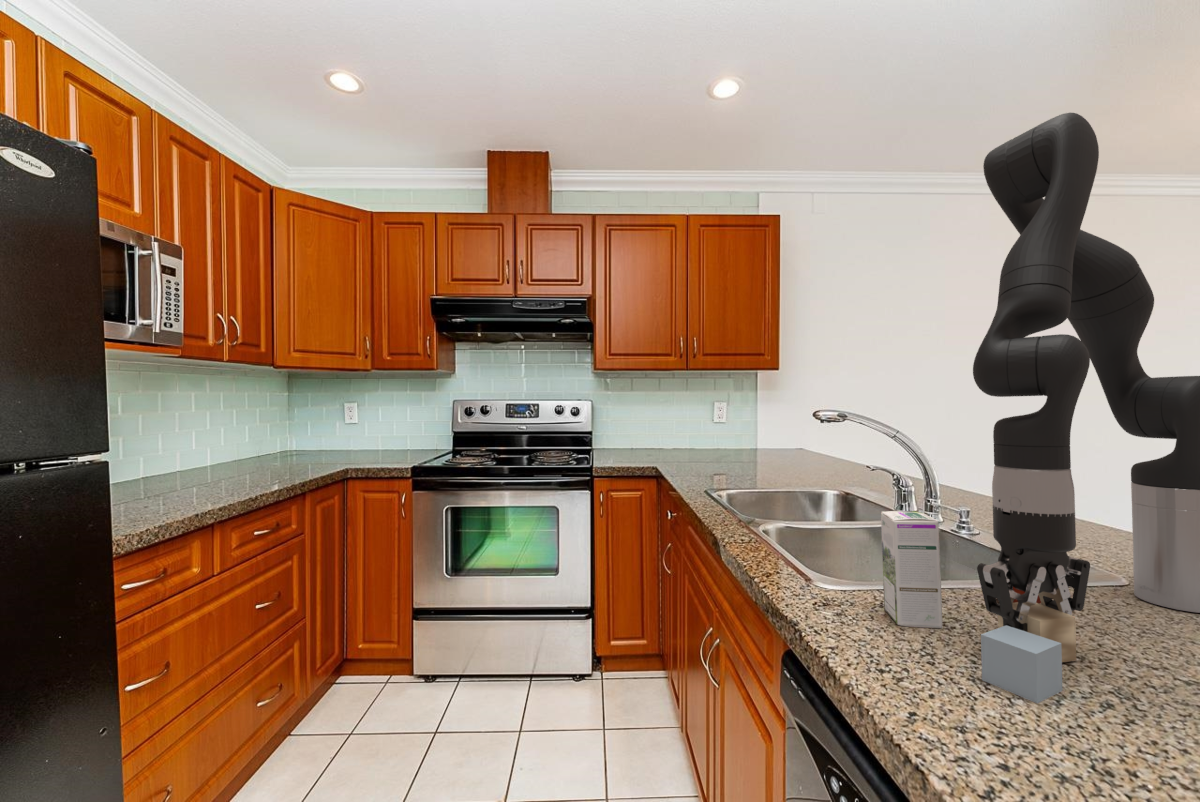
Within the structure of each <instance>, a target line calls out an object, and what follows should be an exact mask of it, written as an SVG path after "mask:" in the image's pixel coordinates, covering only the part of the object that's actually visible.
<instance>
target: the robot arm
mask: <svg viewBox="0 0 1200 802" xmlns="http://www.w3.org/2000/svg"><path fill="white" fill-rule="evenodd" d="M1098 142H1099V141H1098V138H1097V135H1096V132H1095V130H1094V128H1093V126H1092V125H1091V124H1090V123H1089V121H1088V120H1087V119H1086V118H1085V117H1084V116H1082V115H1081V114H1079V113H1077V112H1076V113H1075V112H1065V113H1062V114H1059V115H1057V116H1054V117H1052V118H1050V119H1047V120H1046V121H1044V122H1041V123H1040V124H1038V125H1036V126H1033V127H1032V128H1031V129H1030V128H1029V130H1027V131H1025V132H1023V133H1021V134H1019V135H1017V136H1015V137H1014V138H1012V139H1011V138H1010V139H1009V140H1007V141H1006V142H1004V143H1002V144H1001V145H999V146H997V147H994V148H993V149H992V150H990V151H989V152H987V155H986V156H985V158H984V161H983V175H984V178H985V181H986V185H987V186H988V188H989V191H990V192H991V194H992V196H993V197H994V199H995V201H996V202H997V204H998V206H999V207H1000V208H1001V210H1002V212H1003V213H1004V214H1005V216H1006V217H1007V218H1008V220H1009V221H1010V223H1011V225H1013V227H1014V228H1015V230H1016V231H1017V232H1018V235H1019V237H1018V238H1017V240H1016V241H1015V242H1014V244H1013V245H1012V247H1011V248H1010V250H1009V252H1008V253H1007V255H1006V258H1005V259H1004V262H1003V265H1002V267H1001V271H1000V277H999V284H998V285H999V287H998V297H997V306H996V310H995V313H994V316H993V318H992V321H991V322H990V323H991V324H990V326H989V328H988V330H987V332H986V334H985V336H984V338H983V340H982V341H981V343H980V345H979V347H978V350H977V352H976V354H975V357H974V360H973V364H972V375H973V380H974V383H975V384H976V386H977V387H978V389H979V390H980V391H981V392H982V393H984V394H985V395H988V396H991V397H998V398H999V397H1002V398H1003V397H1004V398H1005V397H1009V398H1010V397H1041V396H1042V397H1043V396H1045V397H1046V401H1045V403H1044V404H1043V406H1042V407H1040V409H1038V410H1037V411H1035V412H1032V413H1031V412H1030V413H1027V414H1023V415H1022V414H1020V415H1014V416H1009V417H1004V418H1001V419H998V420H997V421H996V422H995V423H994V426H993V435H992V437H993V438H992V439H993V465H994V466H993V473H992V474H993V475H992V482H991V483H992V485H991V493H992V494H991V495H992V527H993V528H992V529H993V531H992V532H993V533H992V534H993V539H994V541H996V542H997V543H998V544H999V546H1000V549H1001V550H1000V552H999V553H1000V554H999V555H998V559H997V562H994V563H991V564H986V563H984V562H983V563H982V562H981V563H979V564H977V566H976V570H977V574H978V575H977V576H978V580H979V583H980V587H981V592H982V593H981V594H982V597H983V600H984V605H985V609H986V611H987V612H989V613H991V614H994V615H996V616H998V615H999V616H1002V618H1003V626H1005V625H1007V626H1010V627H1013V628H1016V629H1019V630H1023V631H1026V632H1028V627H1027V623H1025V622H1026V620H1027V617H1028V613H1029V609H1030V606H1031V605H1035V604H1036V601H1037V597H1038V595H1039V597H1040V600H1041V603H1040V604H1042V605H1044V606H1047V607H1050V608H1053V609H1055V610H1058V611H1061V612H1064V613H1066V614H1069V615H1072V614H1073V612H1074V611H1078V612H1081V611H1082V610H1083V609H1084V607H1085V603H1086V595H1087V589H1088V583H1089V582H1088V581H1089V576H1090V570H1091V563H1090V561H1088V560H1084V559H1080V558H1078V557H1074V556H1069V555H1068V553H1069V552H1071V551H1073V550H1074V549H1076V546H1077V539H1076V538H1077V536H1076V535H1077V534H1076V533H1077V532H1076V531H1077V530H1076V504H1075V503H1076V502H1075V501H1076V500H1075V497H1076V495H1075V486H1074V480H1073V477H1072V475H1073V474H1072V469H1071V468H1072V464H1071V463H1072V462H1071V432H1072V431H1071V429H1072V422H1073V419H1074V414H1075V409H1076V406H1077V403H1078V400H1079V397H1080V394H1081V392H1082V389H1083V387H1084V384H1085V382H1086V378H1087V376H1088V373H1089V368H1090V365H1091V364H1090V363H1092V366H1093V368H1094V370H1095V372H1096V375H1097V377H1098V380H1099V383H1100V385H1101V388H1102V390H1103V393H1104V395H1105V398H1106V401H1107V403H1108V406H1109V408H1110V410H1111V412H1112V415H1113V417H1114V419H1115V420H1116V422H1117V423H1118V425H1119V427H1120V428H1121V429H1122V430H1124V432H1125V433H1127V434H1129V435H1131V436H1134V437H1138V438H1146V439H1148V438H1149V439H1165V440H1166V439H1167V440H1175V445H1174V449H1173V450H1172V452H1170V453H1168V454H1166V455H1164V456H1162V457H1159V458H1155V459H1151V460H1146V461H1141V462H1137V463H1135V464H1133V465H1132V467H1131V468H1130V481H1131V482H1130V488H1131V516H1132V517H1131V518H1132V519H1131V520H1132V521H1131V524H1132V562H1133V566H1132V567H1133V569H1132V570H1133V571H1132V572H1133V594H1134V596H1135V597H1136V598H1138V599H1140V600H1142V601H1145V602H1147V603H1151V604H1152V605H1153V604H1154V605H1156V606H1157V605H1158V606H1161V607H1165V608H1169V609H1173V610H1178V611H1184V612H1191V613H1198V614H1200V375H1183V376H1162V377H1160V376H1159V377H1158V376H1157V377H1151V376H1149V375H1148V374H1147V372H1145V370H1144V368H1143V367H1142V364H1141V361H1140V359H1139V355H1138V348H1139V344H1140V341H1141V339H1142V337H1143V335H1144V332H1145V330H1146V328H1147V326H1148V324H1149V321H1150V319H1151V316H1152V313H1153V310H1154V305H1155V296H1154V292H1153V290H1152V288H1151V286H1150V284H1149V282H1148V279H1147V278H1146V276H1145V274H1144V271H1143V270H1142V268H1141V267H1140V264H1139V263H1138V260H1137V259H1136V258H1135V256H1134V255H1133V254H1132V253H1130V252H1129V251H1127V250H1126V249H1124V248H1122V247H1121V246H1119V245H1117V244H1115V243H1113V242H1110V241H1109V240H1106V239H1104V238H1102V237H1099V236H1097V235H1094V234H1092V233H1089V232H1087V231H1085V230H1083V229H1081V227H1082V224H1083V221H1084V217H1085V215H1086V212H1087V208H1088V204H1089V200H1090V196H1091V194H1092V190H1093V185H1094V182H1095V179H1096V175H1097V172H1098V167H1099V166H1098V163H1099V158H1100V150H1099V149H1100V148H1099V143H1098ZM1066 320H1068V322H1069V323H1070V325H1071V326H1072V328H1073V330H1074V331H1075V332H1076V335H1077V336H1078V337H1076V336H1074V335H1071V334H1063V333H1062V334H1061V333H1060V334H1059V333H1058V334H1051V335H1041V336H1030V335H1033V334H1036V333H1040V332H1044V331H1047V330H1050V329H1053V328H1055V327H1058V326H1060V325H1061V324H1063V323H1065V321H1066ZM1028 336H1029V337H1028ZM1013 587H1015V589H1018V590H1021V591H1024V592H1025V593H1024V594H1019V593H1016V592H1014V590H1013ZM1069 587H1071V588H1072V589H1073V594H1072V595H1071V592H1070V589H1069ZM1015 599H1016V600H1018V605H1017V609H1016V610H1014V609H1013V606H1012V605H1013V601H1014V600H1015ZM997 600H998V601H997ZM1072 616H1073V615H1072Z"/></svg>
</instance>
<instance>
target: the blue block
mask: <svg viewBox="0 0 1200 802" xmlns="http://www.w3.org/2000/svg"><path fill="white" fill-rule="evenodd" d="M980 653H981V655H980V656H981V681H983V682H985V683H987V684H990V685H992V686H995V687H996V688H1000V689H1001V690H1003V691H1007V692H1009V693H1012V694H1013V695H1015V696H1019V697H1021V698H1023V699H1025V700H1028V701H1030V702H1033V703H1035V704H1040V703H1042V702H1043V701H1045V700H1047V699H1049V698H1051V697H1053V696H1055V695H1057V694H1059V693H1060V692H1063V662H1062V648H1061V643H1059V642H1056V641H1053V640H1050V639H1047V638H1044V637H1041V636H1038V635H1035V634H1032V633H1029V632H1026V631H1023V630H1019V629H1016V628H1013V627H1010V626H1007V625H1005V626H1003V627H1000V628H998V627H997V628H995V629H992V630H990V631H987V632H984V633H981V634H980Z"/></svg>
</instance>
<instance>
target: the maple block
mask: <svg viewBox="0 0 1200 802" xmlns="http://www.w3.org/2000/svg"><path fill="white" fill-rule="evenodd" d="M1017 605H1018V602H1015V603H1013V605H1012V606H1013V609H1014V610H1016V609H1017ZM1025 623H1027V627H1028V632H1029V633H1032V634H1035V635H1038V636H1041V637H1044V638H1047V639H1050V640H1053V641H1056V642H1059V643H1061V648H1062V663H1068V662H1074V661H1077V637H1076V636H1077V635H1076V634H1077V633H1076V616H1074V615H1069V614H1066V613H1064V612H1061V611H1058V610H1055V609H1053V608H1050V607H1047V606H1044V605H1042V603H1036V604H1035V605H1031V606H1030V609H1029V613H1028V617H1027V620H1026V622H1025ZM997 626H998V627H997V628H1000V627H1003V618H1002V616H999V615H997Z"/></svg>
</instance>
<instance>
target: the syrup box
mask: <svg viewBox="0 0 1200 802" xmlns="http://www.w3.org/2000/svg"><path fill="white" fill-rule="evenodd" d="M880 518H881V521H880V523H881V528H880V529H881V548H882V551H881V552H882V583H883V584H882V586H883V610H884V611H885V612H886V613H887V614H888V615H889V617H890V618H891V619H892V620H893V622H895V624H896V625H898V626H901V627H912V628H924V629H925V628H926V629H927V628H928V629H943V603H942V579H941V578H942V577H941V554H940V553H941V552H940V551H941V550H940V533H939V531H940V528H939V520H937V519H936V518H933V517H931V516H929V515H928V514H926V513H924V512H922V511H921V512H920V511H912V510H911V511H910V510H890V511H889V510H888V511H881V513H880Z"/></svg>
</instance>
